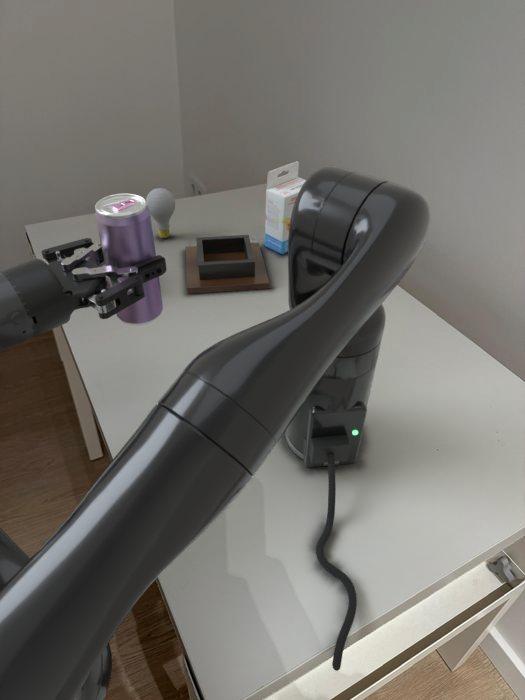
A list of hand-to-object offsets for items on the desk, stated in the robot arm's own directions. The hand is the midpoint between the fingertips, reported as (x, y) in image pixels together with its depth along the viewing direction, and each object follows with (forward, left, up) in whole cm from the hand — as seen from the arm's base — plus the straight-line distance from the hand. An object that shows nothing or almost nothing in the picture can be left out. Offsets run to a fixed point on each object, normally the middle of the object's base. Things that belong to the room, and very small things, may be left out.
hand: (148, 252), depth 62 cm
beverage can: (-1, +2, -8) cm, 9 cm away
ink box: (+32, -24, -18) cm, 44 cm away
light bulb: (+37, 0, -18) cm, 41 cm away
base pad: (+24, -11, -18) cm, 32 cm away
